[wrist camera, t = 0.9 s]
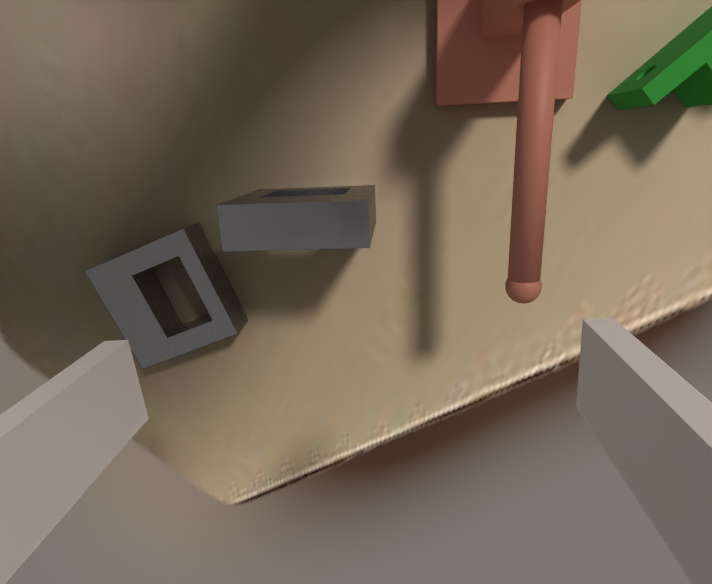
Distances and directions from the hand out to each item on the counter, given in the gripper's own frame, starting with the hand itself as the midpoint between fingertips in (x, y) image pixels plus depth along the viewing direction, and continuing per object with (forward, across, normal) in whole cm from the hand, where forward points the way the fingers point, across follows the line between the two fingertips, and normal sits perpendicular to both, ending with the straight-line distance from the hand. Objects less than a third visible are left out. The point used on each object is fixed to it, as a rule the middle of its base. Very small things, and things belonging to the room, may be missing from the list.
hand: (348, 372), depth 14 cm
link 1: (+20, -15, -3) cm, 25 cm away
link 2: (+20, -4, +2) cm, 20 cm away
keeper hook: (+20, +8, +8) cm, 23 cm away
